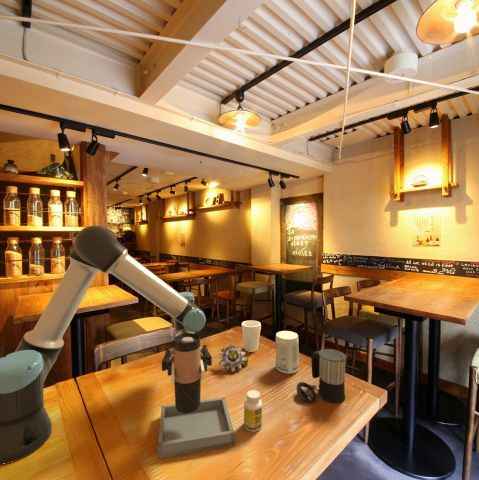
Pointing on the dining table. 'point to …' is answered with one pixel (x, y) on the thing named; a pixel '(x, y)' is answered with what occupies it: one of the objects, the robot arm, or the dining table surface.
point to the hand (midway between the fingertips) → (188, 377)
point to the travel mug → (187, 372)
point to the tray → (195, 429)
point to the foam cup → (251, 334)
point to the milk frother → (326, 376)
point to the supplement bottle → (253, 411)
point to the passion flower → (233, 357)
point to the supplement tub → (287, 352)
